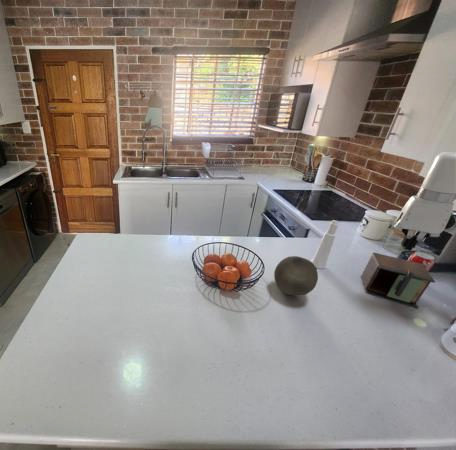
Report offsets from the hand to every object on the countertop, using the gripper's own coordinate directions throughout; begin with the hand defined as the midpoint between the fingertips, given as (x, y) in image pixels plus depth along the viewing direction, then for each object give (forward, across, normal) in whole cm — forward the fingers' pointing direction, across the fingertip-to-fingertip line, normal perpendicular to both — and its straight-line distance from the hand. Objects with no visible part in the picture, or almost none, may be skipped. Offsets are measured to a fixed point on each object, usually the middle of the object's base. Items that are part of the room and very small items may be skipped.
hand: (406, 248), depth 81 cm
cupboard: (+23, -5, -9) cm, 25 cm away
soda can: (+24, -15, -24) cm, 37 cm away
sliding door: (+22, -6, -2) cm, 23 cm away
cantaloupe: (+22, +29, +13) cm, 39 cm away
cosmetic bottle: (+23, +19, -14) cm, 33 cm away
